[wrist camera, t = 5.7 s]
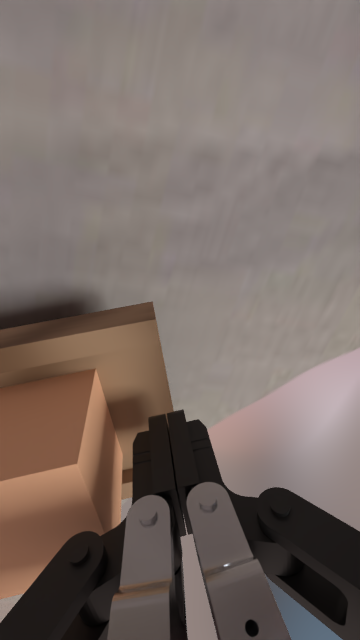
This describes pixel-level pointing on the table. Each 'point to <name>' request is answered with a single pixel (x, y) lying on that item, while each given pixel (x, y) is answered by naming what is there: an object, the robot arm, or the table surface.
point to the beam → (98, 365)
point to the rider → (54, 472)
